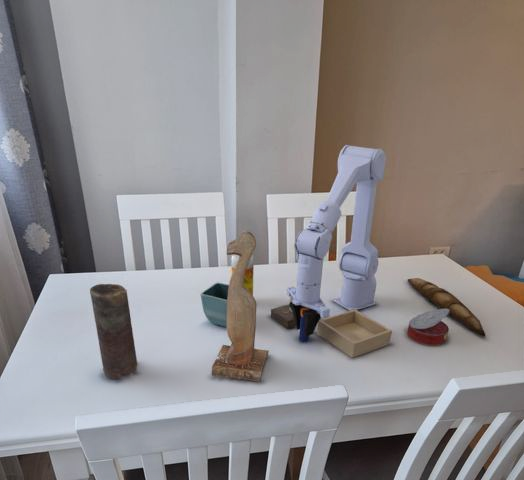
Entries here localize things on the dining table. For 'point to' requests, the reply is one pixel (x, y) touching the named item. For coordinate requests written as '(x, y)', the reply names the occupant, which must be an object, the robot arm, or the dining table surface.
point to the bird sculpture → (240, 320)
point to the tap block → (283, 316)
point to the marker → (303, 327)
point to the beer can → (249, 272)
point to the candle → (114, 330)
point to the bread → (448, 304)
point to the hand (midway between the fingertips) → (304, 331)
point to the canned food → (429, 327)
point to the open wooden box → (354, 333)
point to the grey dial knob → (291, 301)
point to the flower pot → (216, 303)
